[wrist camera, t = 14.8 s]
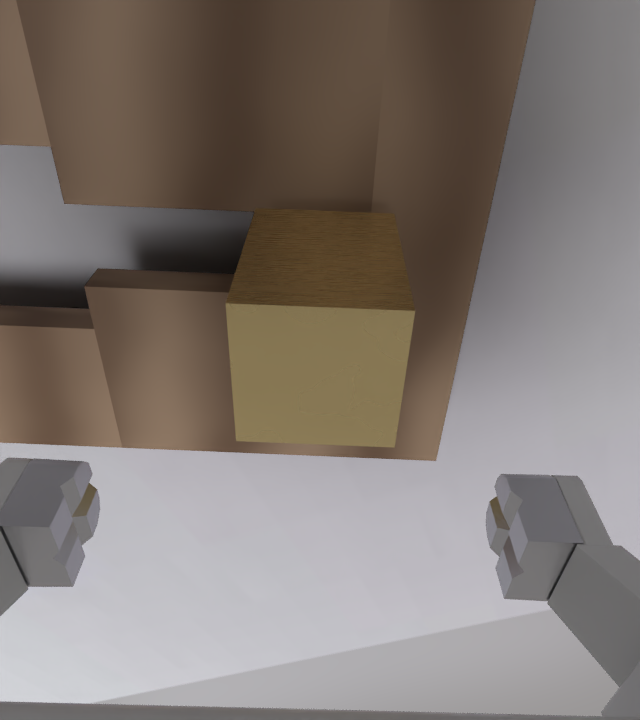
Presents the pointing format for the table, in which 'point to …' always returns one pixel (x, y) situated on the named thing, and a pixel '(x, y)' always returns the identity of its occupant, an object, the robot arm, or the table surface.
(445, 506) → the table surface
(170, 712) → the robot arm
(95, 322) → the keyhole plate
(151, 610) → the table surface
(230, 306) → the t peg
